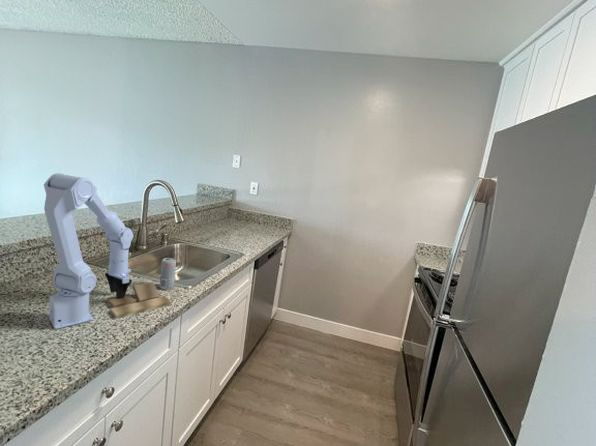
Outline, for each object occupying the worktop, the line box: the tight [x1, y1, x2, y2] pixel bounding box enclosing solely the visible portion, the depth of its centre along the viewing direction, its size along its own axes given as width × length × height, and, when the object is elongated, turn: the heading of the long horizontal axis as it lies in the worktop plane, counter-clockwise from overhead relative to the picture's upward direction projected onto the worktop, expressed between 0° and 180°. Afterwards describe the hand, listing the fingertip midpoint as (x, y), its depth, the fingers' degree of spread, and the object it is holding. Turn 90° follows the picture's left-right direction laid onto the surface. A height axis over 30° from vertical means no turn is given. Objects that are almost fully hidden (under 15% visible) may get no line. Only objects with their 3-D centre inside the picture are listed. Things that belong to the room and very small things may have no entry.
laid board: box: [109, 296, 172, 319], centre depth 104 cm, size 18×6×1 cm, turn 140°
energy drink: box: [159, 257, 177, 291], centre depth 121 cm, size 5×5×12 cm
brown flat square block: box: [106, 293, 137, 308], centre depth 105 cm, size 7×7×1 cm
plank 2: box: [132, 281, 161, 302], centre depth 110 cm, size 7×7×1 cm
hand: (117, 295), depth 108 cm, fingers open, 6 cm apart
